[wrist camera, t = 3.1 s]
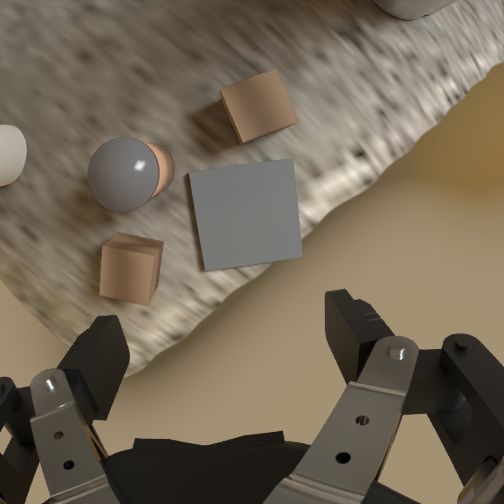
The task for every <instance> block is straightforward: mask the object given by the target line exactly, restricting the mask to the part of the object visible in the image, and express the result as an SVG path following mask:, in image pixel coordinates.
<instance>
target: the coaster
mask: <svg viewBox="0 0 504 504" xmlns="http://www.w3.org/2000/svg"><path fill="white" fill-rule="evenodd" d="M189 176H190V183H191V189H192V196H193V202H194V208H195V214H196V221H197V227H198V232H199V238H200V244H201V250H202V255H203V261H204V266H205V271H211V270H218V269H225V268H232V267H239V266H246V265H253V264H260V263H267V262H274V261H280V260H287V259H294V258H300V257H302V245H301V233H300V222H299V211H298V201H297V191H296V182H295V173H294V164H293V159H284V160H275V161H266V162H258V163H250V164H242V165H234V166H227V167H220V168H213V169H207V170H201V171H194V172H189Z"/></svg>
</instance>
